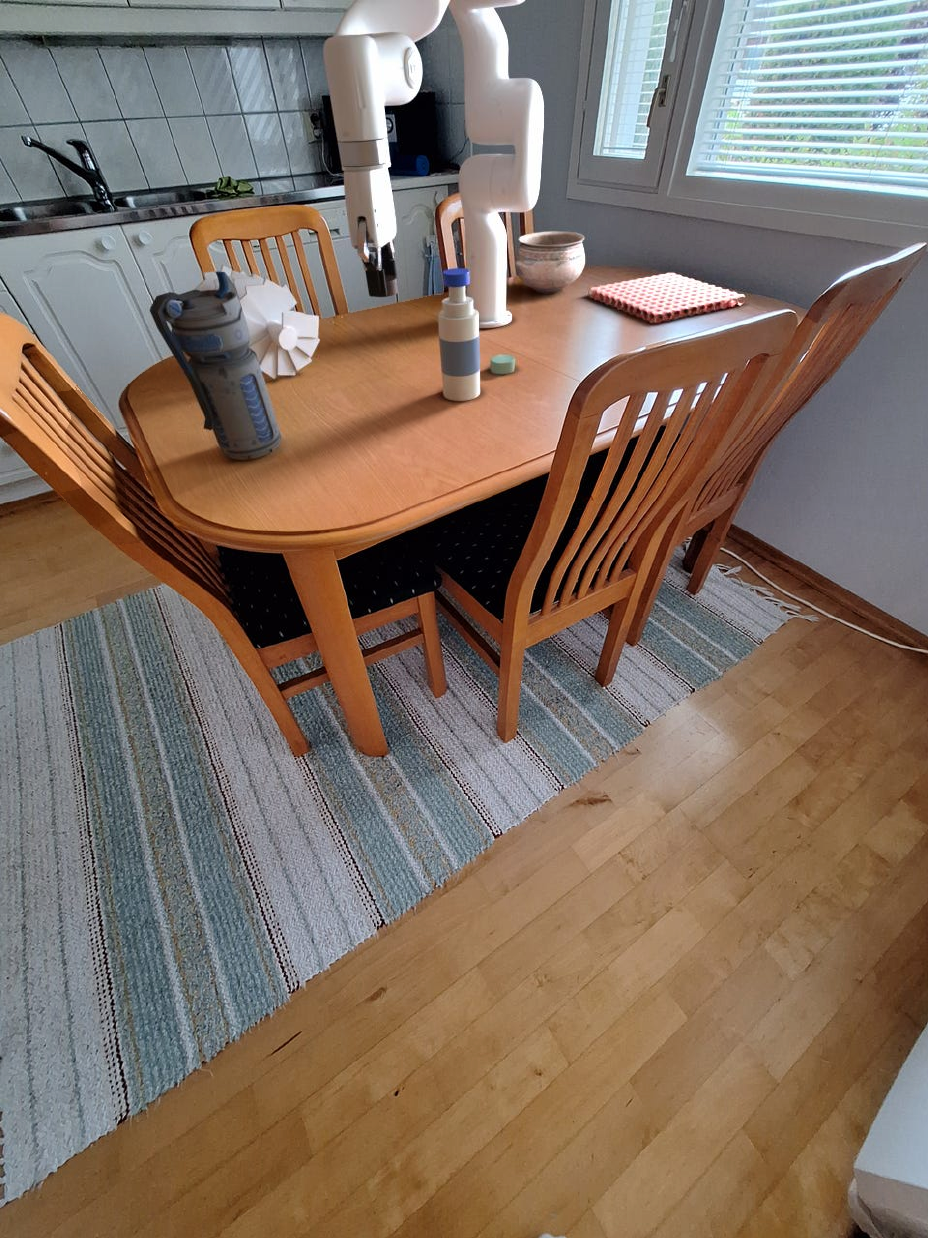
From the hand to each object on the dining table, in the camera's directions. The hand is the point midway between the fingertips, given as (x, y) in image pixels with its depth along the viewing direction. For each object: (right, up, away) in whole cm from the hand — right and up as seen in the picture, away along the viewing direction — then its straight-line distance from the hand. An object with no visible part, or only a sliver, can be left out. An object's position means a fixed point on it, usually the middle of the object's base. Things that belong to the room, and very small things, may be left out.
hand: (383, 289), depth 93 cm
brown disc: (0, 0, 0) cm, 1 cm away
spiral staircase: (-30, -2, +24) cm, 38 cm away
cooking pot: (+38, +35, +56) cm, 76 cm away
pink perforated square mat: (+66, +25, +45) cm, 84 cm away
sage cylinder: (+22, -6, +17) cm, 28 cm away
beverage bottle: (-22, -30, -3) cm, 37 cm away
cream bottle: (+14, -14, +9) cm, 22 cm away
